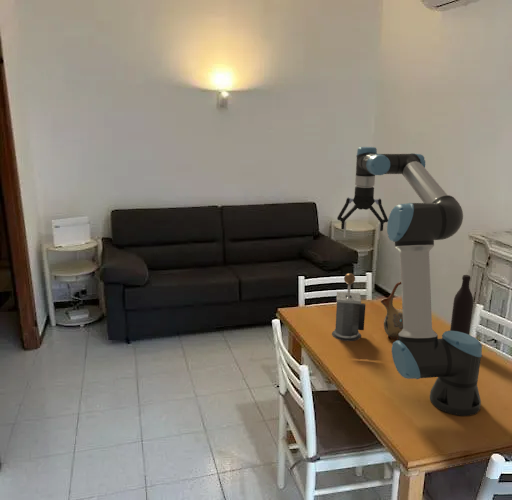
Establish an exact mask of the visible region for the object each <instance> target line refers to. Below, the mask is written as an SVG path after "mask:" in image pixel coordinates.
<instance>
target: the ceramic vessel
mask: <svg viewBox="0 0 512 500" xmlns="http://www.w3.org/2000/svg"><path fill="white" fill-rule="evenodd" d="M400 285H401V281H399V282H397V283H396V284H395V285H394V286H393V289H392V291H391V293H390V295H389V296H388V297H385V298H382V299H381V300H380V303H381V305H383V306H384V307H385V309H386V316H385V318H384V319H383V329H384V331H385V334H386V335H387V336H388V337H389V338H391V339H394V340H399V338H398V334H399V333H400V332H401V331H402V329H403V311H402V308H400V309H399V308H395V307H394V305H393V304H394V303H393V301H394V296H395V294H396V290H398V289H397V288H398V287H399V286H400ZM401 286H402V285H401Z"/></svg>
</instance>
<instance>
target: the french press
mask: <svg viewBox="0 0 512 500" xmlns="http://www.w3.org/2000/svg"><path fill="white" fill-rule="evenodd" d="M347 294H348V291H336V314H335V327H334V330H333V331H334V335H335V336H336V337H337V338H340V339H344V340H353V339H356V338H358V336H359V333H360V332H359V331H364V330H365V319H366V318H365V317H366V303H365V302H364V303H362V298H361V292H360V293H359V292H350V298H348V297H347Z"/></svg>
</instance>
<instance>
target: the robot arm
mask: <svg viewBox="0 0 512 500" xmlns="http://www.w3.org/2000/svg"><path fill="white" fill-rule="evenodd" d="M356 151H357V152H356V157H355V158H356V167H355V182H354V185H355V187H354V197H353V198H352V197H351V198H350V197H346V199H345V203H344V205H343V207H342V209H341V211H340V212H339V214H338V216H337V218H336V219H337V221H340V223H341V227H340V228H341V230H343V238H344V239H346V237H347V236H346V234H347V220H348V218H349V217H350V216H352V214H353V213H354V212H355V211H356V210H357V209H358V210H365V211H367V210H370V211H371V212H372V213H373V215H374V216H375V217H376V219H377V220H378V222H377V235H376V237H377V240H380V236H381V232H383V231H384V224H385V223H387V224H386V225H387V226H386V227H387V228H386V229H387V230H386V232H387V233H386V234H387V237H388V239H389V241H391V242H392V243H394V248H395V249H396V250H397V251H398V252H399V255H400V282H401V302H402V303H401V307H402V308H401V309H402V311H403V329H402V331H401V332H400V333H399V334H398V338H399V339H396V340H395V341H393V342H392V345H391V355H392V356H391V357H392V361H393V364H394V366H395V368H396V371H397V372H398V374H399V375H400V376H401V377H402V378H404V379H408V380H410V379H411V380H413V379H416V380H420V379H428V378H432V379H433V378H436V380H435V382H434V383H433V384H432V385H433V386H432V388H431V389H430V391H429V392H430V393H429V401H430V403H431V404H432V405H433V406H434V407H435V408H437V409H439V410H440V411H442V412H445V413H446V414H451V415H454V416H461V417H465V416H466V417H468V416H473V415H476V414H478V412H480V410H481V403H482V400H481V396H480V392H479V391H480V390H479V388H478V381H479V373H480V366H481V359H482V356H483V354H482V353H483V346H482V343H481V341H480V340H479V339H477V338H476V337H474V336H473V335H471V334H469V335H468V334H466V333H462V332H458V331H450V330H446V331H444V332H443V333H442V335H441V338H439V337H438V333H437V332H436V331H434V329H433V322H432V321H433V318H432V316H433V315H432V314H433V313H432V292H431V290H432V289H431V267H430V266H431V264H430V262H431V261H430V251H431V250H432V249H433V248H434V246H435V241H441V240H447V239H448V238H450V237H453V236H454V235H455V234H456V233H458V231H459V230H460V228H461V227H462V224H463V219H464V213H463V209H462V205H460V203H459V202H458V200H457V199H456V198H455V197H454V196H453V195H450V194H447V192H446V191H445V190H444V189H443V187H442V186H441V185H440V184H439V183H438V182H437V181H436V179H435V178H434V177H433V176H432V175H431V174H430V173H429V171H428V170H427V169H426V160H425V157H424V155H423V154H422V153H377V151H378V149H377V147H376V146H360V147H359V146H358V148H357V150H356ZM383 175H402V176H403V177H404V178H405V180H406V181H407V182H408V184H409V185H410V186H411V188H412V189H413V191H414V192H415V193H416V194H417V196H418V198H419V199H420V200H421V201H422V202H408V203H399V204H397V205H395V206H394V207H393V208H392V209H391V211H390V214H389V216H387V213H386V212H385V210H384V209H385V208H384V207H383V205H382V204H383V203H382V199H381V198H380V197H379V198H375V197H374V194H375V184H376V183H375V182H376V181H375V180H376V176H383ZM374 198H375V199H374ZM352 202H353V204H354V205H353V206H352V208H351V209H350V210H348V211H347V213H346V214H345V212H346V210H347V208H348V206H349V204H352ZM374 203H375V204H376V205H378V208H379V210H380V212H381V214H382V215H381V216H382V217H383V218H382V217H381V216H380V215H379V213H378V212H377V210H376V209H375V208H374V207H373V204H374ZM344 214H345V215H344ZM343 215H344V216H343Z"/></svg>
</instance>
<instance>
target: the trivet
mask: <svg viewBox="0 0 512 500" xmlns="http://www.w3.org/2000/svg"><path fill="white" fill-rule="evenodd" d="M331 335H332V337H333V338H334V339H336V340H338V341H341V342H342V341H344V342H355V341H359V339H362V335H361V333H360V332H359V336H358V338H356V339H353V340H344V339H340V338H337V337H336V336H335V335H334V330H333V331H332V332H331Z"/></svg>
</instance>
